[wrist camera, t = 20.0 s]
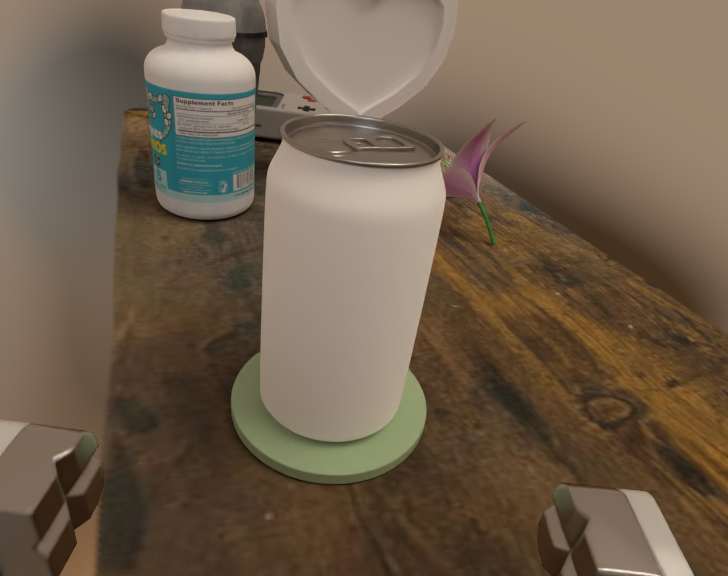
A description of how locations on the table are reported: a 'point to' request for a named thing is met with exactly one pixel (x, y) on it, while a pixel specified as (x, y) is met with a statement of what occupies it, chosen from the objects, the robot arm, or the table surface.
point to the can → (345, 270)
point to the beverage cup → (240, 26)
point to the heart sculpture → (361, 49)
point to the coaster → (322, 457)
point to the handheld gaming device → (282, 111)
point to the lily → (472, 168)
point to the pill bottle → (201, 116)
